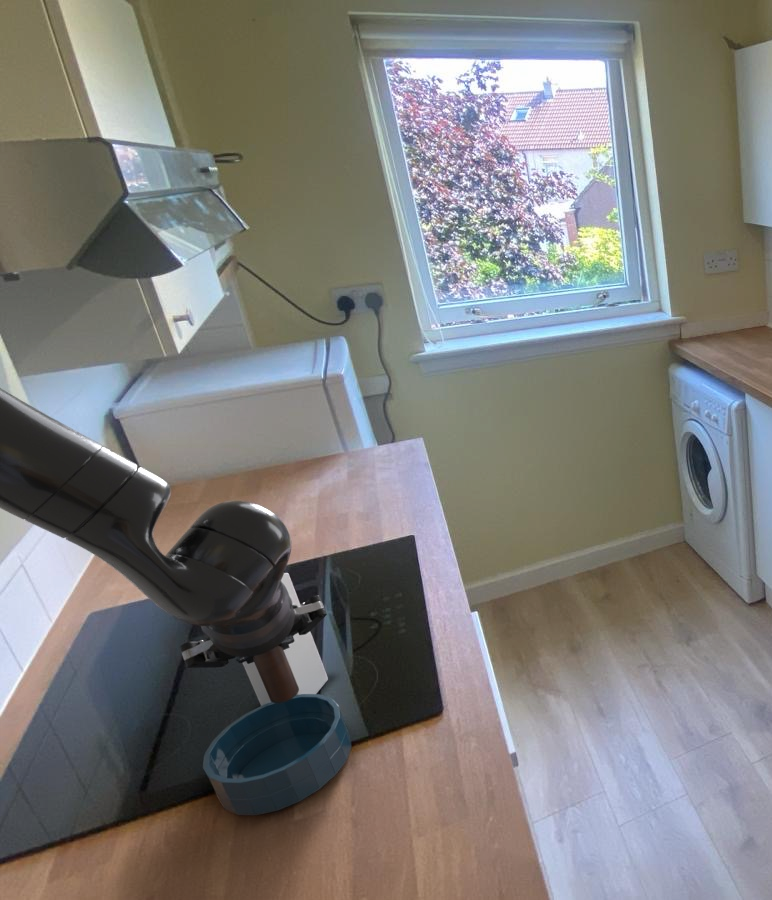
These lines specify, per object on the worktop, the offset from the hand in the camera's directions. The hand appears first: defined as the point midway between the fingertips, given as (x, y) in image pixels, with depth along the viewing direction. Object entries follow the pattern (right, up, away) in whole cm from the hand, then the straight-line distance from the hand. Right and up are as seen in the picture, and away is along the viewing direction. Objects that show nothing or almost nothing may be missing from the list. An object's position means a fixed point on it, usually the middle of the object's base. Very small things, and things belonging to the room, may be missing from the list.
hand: (265, 648), depth 89 cm
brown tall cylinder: (+2, -6, +1) cm, 6 cm away
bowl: (0, -17, +4) cm, 17 cm away
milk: (-8, -11, +17) cm, 22 cm away
